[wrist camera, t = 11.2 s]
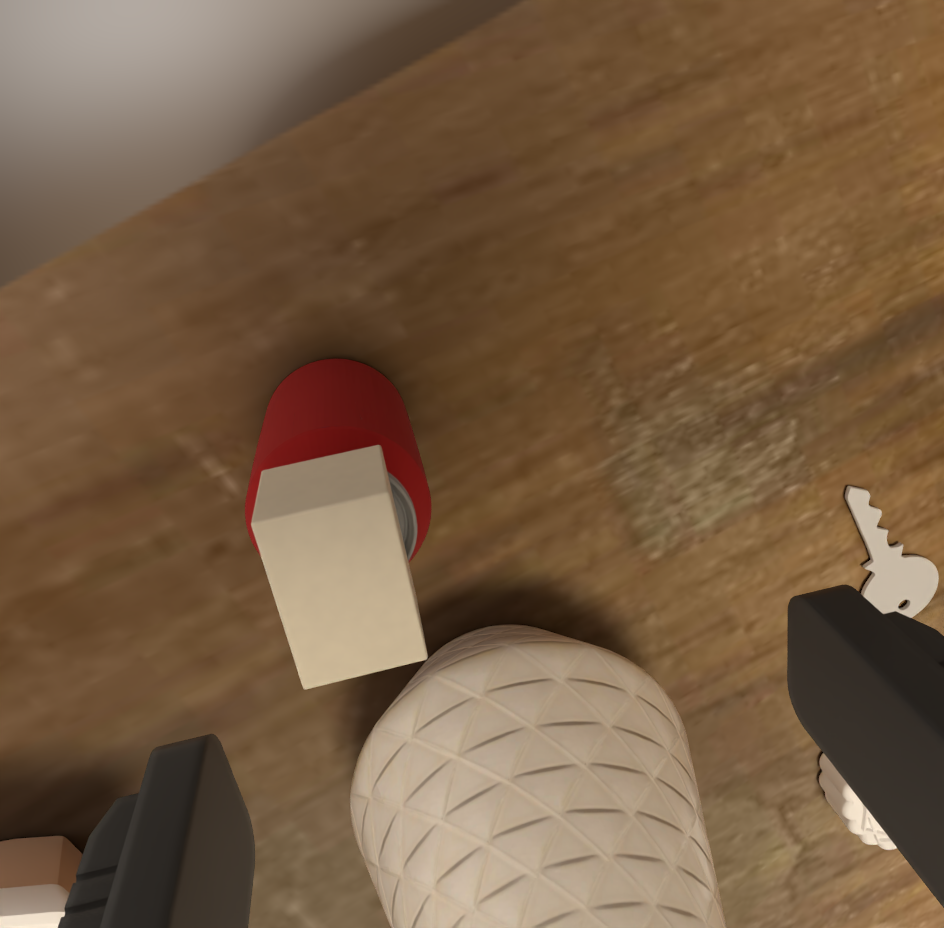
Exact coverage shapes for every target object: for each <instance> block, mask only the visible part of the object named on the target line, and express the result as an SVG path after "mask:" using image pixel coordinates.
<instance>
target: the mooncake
mask: <svg viewBox="0 0 944 928" xmlns="http://www.w3.org/2000/svg"><path fill="white" fill-rule="evenodd" d="M819 765H820V768H821V769H822V772H821V774H820V776H819V784H820V786H821V787H822V789H823V790H824V791H825V797H826V800H827V802H828V803H829V804H830V806H831V807H832V808H833V809H834V811H835V812H836V813H837V815H838V816H839V817H840V819H841V820H842V821H843V823H844V824H845V825H846V827H847V828H848V829H849V830H850V831H851V832H852V833H854V834H857V835H858V837H859V838H860V839H861V840H862V841H863V842H864V843H866V844H868V845H876V844H878V846H880V847H881V848H883V849H885V850H893V849H896V848H897V847H896V846H895V844H894V843H893V842H892V841H891V839H890V838H889V837H888V835H887V834H886V833H885V832H884V830H883V829H882V828H881V826H880V825H879V824H878V822H877V821H876V820H875V819H874V817H873V816H872V815H871V813H870V812H869V811H868V810H867V808H866V807H865V806H864V804H863V803H862V802H861V801H860V799H859V798H858V797H857V795H856V794H855V793H854V792H853V790H852V789H851V788H850V786H849V785H848V784H847V783H846V781H845V780H844V779H843V777H842V776H841V775H840V773H839V772H838V771H837V770H836V768H835V767H834V766H833V764H832V763H831V762H830V761H829V759H828V758H827V757H826V755H825V754H824V753H823V754H822V755H821V757H820V760H819Z"/></svg>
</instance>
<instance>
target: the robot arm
mask: <svg viewBox="0 0 944 928" xmlns="http://www.w3.org/2000/svg"><path fill="white" fill-rule="evenodd" d="M787 681H788V690H789V695H790V699H791V702H792V705H793V708H794V710H795V712H796V715H797V717H798V719H799V720H800V722H801V724H802V725H803V727H804V728H805V730H806V731H807V732H808V734H809V735H810V736H811V737H812V739H813V740H814V741H815V743H816V744H817V745H818V746H819V748H820V749H821V750H822V752H823V753H824V754H825V755H826V757H827V758H828V759H829V761H830V762H831V763H832V764H833V766H834V767H835V768H836V770H837V771H838V772H839V773H840V775H841V776H842V777H843V779H844V780H845V781H846V783H847V784H848V785H849V786H850V788H851V789H852V790H853V792H854V793H855V794H856V795H857V797H858V798H859V799H860V801H861V802H862V803H863V804H864V806H865V807H866V808H867V810H868V811H869V812H870V813H871V815H872V816H873V817H874V819H875V820H876V821H877V822H878V824H879V825H880V826H881V828H882V829H883V830H884V832H885V833H886V834H887V835H888V837H889V838H890V839H891V841H892V842H893V843H894V844H895V846H896V847H897V848H898V850H899V851H900V852H901V853H902V855H903V856H904V857H905V859H906V860H907V861H908V862H909V864H910V865H911V866H912V868H913V869H914V870H915V871H916V873H917V874H918V875H919V877H920V878H921V879H922V881H923V882H924V883H925V884H926V886H927V887H928V888H929V890H930V891H931V892H932V893H933V895H934V896H935V897H936V899H937V900H938V901H939V902H940V904H941V905H942V906H943V908H944V636H943V635H942V634H940V633H939V632H938V631H937V630H935V629H933V628H931V627H929V626H927V625H925V624H923V623H920V622H918V621H916V620H914V619H912V618H910V617H907V616H905V615H903V614H901V613H899V612H897V611H894V612H890V613H886V614H883V613H882V612H880V611H879V610H878V609H877V608H876V607H875V606H874V605H873V604H871V603H870V602H869V601H868V600H867V599H866V598H865V597H864V596H863V595H861V594H860V593H859V592H858V591H857V590H856V589H854V588H853V587H851V586H849V585H839V586H835V587H831V588H827V589H823V590H819V591H814V592H810V593H806V594H802V595H798V596H794V597H792V599H791V600H790V602H789V605H788V668H787ZM254 867H255V844H254V835H253V829H252V824H251V820H250V816H249V814H248V811H247V808H246V806H245V803H244V801H243V798H242V796H241V793H240V790H239V788H238V785H237V783H236V780H235V778H234V775H233V773H232V770H231V768H230V765H229V763H228V760H227V757H226V755H225V752H224V750H223V747H222V745H221V743H220V741H219V739H218V738H217V736H216V735H214V734H209V735H205V736H201V737H196V738H192V739H188V740H184V741H180V742H176V743H171V744H167V745H163V746H159V747H156V748H155V749H154V750H153V751H152V753H151V755H150V758H149V761H148V764H147V768H146V771H145V774H144V778H143V781H142V785H141V788H140V792H139V793H138V794H133V795H129V796H125V797H121V798H117V799H116V801H115V802H114V803H113V805H112V806H111V807H110V809H109V810H108V811H107V813H106V814H105V816H104V817H103V818H102V820H101V821H100V822H99V824H98V825H97V826H96V828H95V829H94V830H93V832H92V833H91V834H90V836H89V838H88V841H87V844H86V847H85V850H84V853H83V855H82V858H81V861H80V864H79V867H78V870H77V873H76V883H73V884H72V887H71V890H70V893H69V896H68V899H67V902H66V905H65V908H64V909H65V916H64V917H61V919H60V922H59V925H58V928H248V923H249V913H250V904H251V895H252V886H253V876H254Z"/></svg>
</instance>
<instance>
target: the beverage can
mask: <svg viewBox="0 0 944 928" xmlns="http://www.w3.org/2000/svg"><path fill="white" fill-rule="evenodd" d="M375 445H380V446H381V447H382V452H383V456H384V460H385V465H386V469H387V473H388V477H389V482H390V486H391V490H392V494H393V499H394V503H395V507H396V512H397V516H398V520H399V524H400V529H401V533H402V537H403V541H404V546H405V550H406V554H407V559H408V563H409V562H410V561H411V560H412V559H413V557H414V556H415V555H416V553H417V552H418V550H419V548H420V547H421V545H422V543H423V541H424V539H425V537H426V534H427V531H428V528H429V524H430V519H431V497H430V491H429V487H428V483H427V480H426V476H425V472H424V468H423V464H422V461H421V457H420V454H419V450H418V447H417V443H416V440H415V437H414V433H413V430H412V427H411V424H410V420H409V417H408V414H407V411H406V408H405V405H404V403H403V400H402V398H401V396H400V394H399V393H398V391H397V389H396V388H395V387H394V386H393V384H392V383H391V382H390V381H389V380H388V379H387V378H386V377H385V376H384V375H382V374H381V373H380V372H378V371H377V370H375V369H373V368H372V367H370V366H368V365H365V364H363V363H360V362H357V361H353V360H347V359H325V360H319V361H316V362H312V363H309V364H307V365H305V366H303V367H301V368H299V369H297V370H295V371H294V372H293V373H291V374H290V375H289V376H288V377H286V378H285V379H284V380H283V381H282V382H281V384H280V385H279V386H278V387H277V389H276V390H275V392H274V394H273V395H272V397H271V399H270V402H269V404H268V408H267V411H266V415H265V418H264V422H263V425H262V429H261V433H260V437H259V441H258V445H257V450H256V454H255V458H254V463H253V467H252V472H251V477H250V481H249V486H248V491H247V496H246V503H245V518H246V525H247V529H248V533H249V536H250V538H251V541H252V543H253V545H254V547H255V549H256V550H257V552H258V553H259V555H260V551H259V548H258V545H257V542H256V539H255V536H254V533H253V530H252V526H251V522H252V517H253V512H254V507H255V502H256V497H257V492H258V487H259V482H260V477H261V472H262V471H263V470H267V469H271V468H276V467H280V466H285V465H289V464H294V463H298V462H303V461H307V460H312V459H317V458H321V457H326V456H330V455H335V454H339V453H344V452H348V451H353V450H357V449H362V448H366V447H371V446H375ZM260 556H261V555H260Z"/></svg>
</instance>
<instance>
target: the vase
mask: <svg viewBox="0 0 944 928" xmlns="http://www.w3.org/2000/svg"><path fill="white" fill-rule="evenodd" d="M350 807H351V822H352V827H353V831H354V835H355V839H356V842H357V844H358V847H359V849H360V852H361V854H362V856H363V859H364V861H365V864H366V866H367V869H368V871H369V874H370V876H371V879H372V881H373V884H374V886H375V888H376V891H377V893H378V896H379V898H380V901H381V903H382V906H383V908H384V911H385V913H386V916H387V918H388V920H389V923H390V925H391V928H726V923H725V918H724V913H723V909H722V904H721V899H720V894H719V889H718V884H717V880H716V875H715V870H714V865H713V860H712V855H711V851H710V846H709V841H708V836H707V831H706V827H705V822H704V817H703V812H702V807H701V802H700V798H699V793H698V788H697V783H696V778H695V773H694V769H693V764H692V759H691V754H690V749H689V745H688V740H687V735H686V731H685V728H684V725H683V722H682V720H681V717H680V715H679V713H678V711H677V710H676V708H675V706H674V704H673V702H672V701H671V699H670V697H669V696H668V695H667V693H666V692H665V691H664V690H663V688H662V687H661V686H660V684H659V683H658V682H656V681H655V680H654V679H653V678H652V677H651V676H650V675H649V674H648V673H647V672H645V671H644V670H643V669H642V668H640V667H639V666H637V665H636V664H634V663H633V662H631V661H630V660H629V659H627V658H625V657H623V656H621V655H619V654H617V653H615V652H612V651H610V650H608V649H604V648H601V647H598V646H595V645H592V644H589V643H586V642H582V641H579V640H576V639H572V638H569V637H566V636H562V635H559V634H556V633H553V632H549V631H546V630H543V629H539V628H536V627H530V626H525V625H513V624H511V625H496V626H489V627H485V628H481V629H477V630H474V631H471V632H469V633H466V634H464V635H461V636H459V637H457V638H455V639H453V640H452V641H450V642H449V643H447V644H446V645H444V646H443V647H441V648H440V649H439V650H438V651H436V652H435V653H434V654H433V655H432V656H431V657H430V658H429V659H428V660H427V661H426V662H425V663H424V664H423V665H422V667H421V668H420V669H419V670H418V672H417V673H416V674H415V675H414V676H413V678H412V679H411V680H410V681H409V683H408V684H407V685H406V686H405V688H404V689H403V690H402V691H401V693H400V694H399V695H398V696H397V698H396V699H395V700H394V701H393V703H392V704H391V705H390V706H389V708H388V709H387V710H386V711H385V713H384V714H383V715H382V717H381V718H380V719H379V720H378V722H377V723H376V724H375V726H374V728H373V729H372V731H371V733H370V734H369V736H368V738H367V739H366V741H365V743H364V746H363V748H362V750H361V753H360V755H359V757H358V760H357V764H356V768H355V771H354V775H353V779H352V785H351V795H350Z"/></svg>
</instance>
